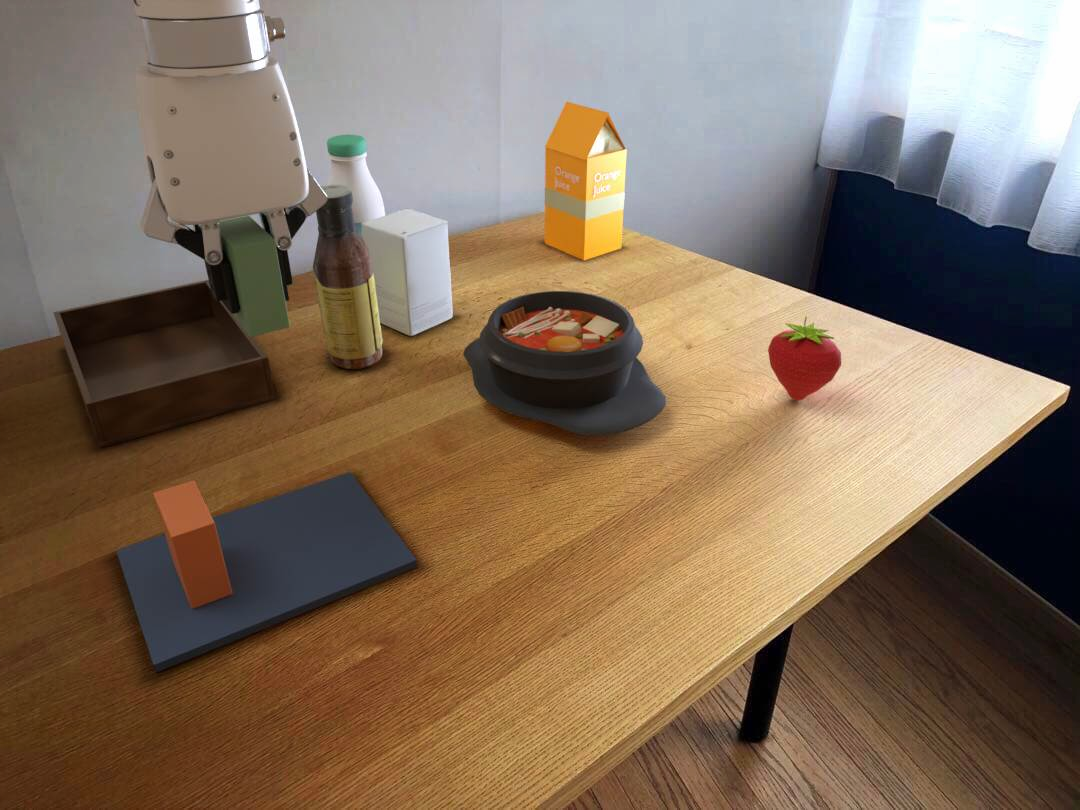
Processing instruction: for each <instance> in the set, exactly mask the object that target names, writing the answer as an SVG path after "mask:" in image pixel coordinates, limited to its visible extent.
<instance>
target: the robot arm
mask: <svg viewBox="0 0 1080 810" xmlns="http://www.w3.org/2000/svg"><path fill="white" fill-rule="evenodd" d="M132 2H133V7H134V12H135V15H136V20H137V24H138V28H139V32H140V37H141V42H142V47H143V50H144V55H145V58H146V64H147V65H143V66H139V67H137V68H136V69H135V71H134V72H135V73H134V74H135V79H134V80H135V96H136V107H137V115H138V123H139V124H138V125H139V130H140V135H141V142H142V148H143V153H144V158H145V159H144V160H145V164H146V168H147V169H146V170H147V173H148V179H149V183H150V190H149V193H148V197H147V201H146V204H145V207H144V210H143V213H142V217H141V219H140V220H141V221H140V225H139V226H140V228H141V231H142V232H143V233H144V234H145V236H146V237H148V238H151V239H155V240H158V241H162V242H166V243H170V244H174V245H175V244H176V245H178V246H180V247H181V248H184V249H185V250H187V251H188V252H190V253H192V254H193V255H195V256H197V257H199V258H200V259H202V260H203V262H204V266H205V271H206V275H207V278H208V279H207V280H209V284H210V288H211V292H212V295H213V298H214V299H215V301H216V302H218V301H222V302H223V304H224V305H225V306H226V307H227V309H228V310H229V311H230V313H231V314H234V313H238V312H239V310H240V305H239V300H238V295H237V290H236V285H235V280H234V275H233V271H232V266H231V264H230V262H229V261H228V260H227V259H226V256H225V252H224V251H223V250H222V244H221V234H220V224H219V221H224V220H229V219H234V218H240V217H245V216H253V215H257V214H258V216H259V219H260V223H261V227H262V228H263V229H264V230H265V231H266V232H267V233H268V234H269V235H270V236H271V237H272V238H273V239H275V244H276V250H277V256H278V261H279V267H280V273H281V279H282V284H283V290H284V296H285V302H288V301H290V296H289V290H288V286H291V285H293V276H292V270H291V264H290V258H289V252H288V251H289V249H290V248H291V247H292V245H293V238H294V237H295V236H296V235H297V233H298V231H299V230H300V229H301V227H302V226H303V224H304V223H305V221H306V220H307V218H309V217H311V216H312V215H313V214H315V213H316V211H317V210H318V209H319V208H321V207H322V206H323V205H324V204H325V203H326V202H327V195H326V194H325V192H324V191H323V190H322V188H321V186H320V184H319V183H318V182H317V180H316V178H315V177H314V176H313V174H312V173H311V172H310V171H309V169H308V168H307V161H306V156H305V152H304V146H303V143H302V139H301V134H300V130H299V129H300V128H299V125H298V122H297V121H298V120H297V117H296V114H295V111H294V106H293V103H292V99H291V96H290V93H289V90H288V87H287V83H286V81H285V78H284V75H283V72H282V69H281V67H280V64H279V61H278V60H277V59H275V58H274V57H273V56H269V55H268V54H270V53H271V49H270V47H271V43H273V42H275V41H276V40H282V39H285V38H286V27H285V24H284V21H283V19H282V17H271V16H269V15H266V14H265V13H264V10H262V9H261V7H260V0H132ZM168 217H169V219H170V220H168ZM189 226H192V228H191V227H189Z"/></svg>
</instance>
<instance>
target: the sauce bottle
mask: <svg viewBox="0 0 1080 810" xmlns="http://www.w3.org/2000/svg"><path fill="white" fill-rule="evenodd" d="M320 187H321V188H322V190H323V191H324V192H325V194H326V195H327V202H326V203H325V204H324V205H323V206H322V207H321V208H319V209H318V210H317V211H316V212H315V213H316V220H317V225H318V226H317V231H318V236H317V241H316V248H315V252H314V257H313V262H312V271H313V278H314V283H315V289H316V295H317V301H318V306H319V311H320V317H321V324H322V328H323V335H324V341H325V345H326V346H325V347H326V350H327V352H328V357H329V358H330V360H331V363H333V364H334V365H335V366H336V367H338V368H341V369H346V370H362V369H364V368H367V367H370V366H372V365H375V364H377V363H378V362H379V361H380V360H381V359H382V357H383V341H384V340H383V333H382V327H381V323H380V318H379V311H378V304H377V296H376V289H375V281H374V274H373V270H372V266H371V258H370V252H369V249H368V247H367V246H366V244H365V242H364V240H363V239H362V238H361V237H360V236H359V235H358V233H357V232H356V230H355V229H356V225H355V222H354V217H353V211H352V203H353V195H352V191H351V189H350V188H349V187H348V186H345V185H322V186H320Z"/></svg>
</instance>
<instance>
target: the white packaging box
mask: <svg viewBox="0 0 1080 810" xmlns="http://www.w3.org/2000/svg"><path fill="white" fill-rule="evenodd" d="M362 229H363V238H364V242H365V244H366V246H367V247H368V249H369V252H370V258H371V266H372V270H373V274H374V281H375V289H376V296H377V304H378V311H379V318H380V324H382V325H384V326H386V327H388V328H390V329H393V330H395V331H397V332H399V333H402V334H404V335H405V336H408V337H413V336H415V335H417V334H420V333H423V332H424V331H428V330H429V329H431V328H433V327H434V328H435V327H436V326H438V325H440V324H442V323H445V322H447V321H449V320H451V319H453V318H454V310H453V295H452V279H451V264H450V263H451V262H450V246H449V230H448V229H449V228H448V221H447V220H445V219H441V218H438V217H435V216H432V215H430V214H429V215H428V214H426V213H423V212H420V211H418V210H417V211H416V210H414V209H410V208H404V209H401V210H398V211H395V212H391V213H389V214H385V216H383V217H380V218H377V219H374V220H371V221H368V222H365V223H362Z"/></svg>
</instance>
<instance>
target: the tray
mask: <svg viewBox="0 0 1080 810" xmlns="http://www.w3.org/2000/svg"><path fill="white" fill-rule="evenodd" d="M52 314H53V316H54V319H55V323H56V326H57V328H58V332H59V334H60V338H61V340H62V344H63V347H64V350H65V353H66V355H67V358H68V361H69V363H70V368H71V370H72V372H73V375H74V378H75V381H76V385H77V386H78V390H79V392H80V395H81V398H82V401H83V404H84V406H85V409H86V412H87V415H88V417H89V421H90V423H91V426H92V429H93V432H94V434H95V437H96V440H97V443H98V445H99V449H102V448H105V447H110V446H112V445H116V444H120V443H124V442H127V441H131V440H134V439H137V438H141V437H144V436H149V435H152V434H156V433H158V432H159V433H160V432H162V431H166V430H169V429H173V428H177V427H181V426H183V425H187V424H190V423H194V422H197V421H201V420H204V419H208V418H211V417H215V416H219V415H222V414H227V413H230V412H233V411H236V410H240V409H244V408H247V407H251V406H255V405H258V404H262V403H265V402H269V401H272V400H276V398H277V397H276V393H275V387H274V381H273V377H272V376H273V375H272V370H271V366H270V360H269V359H270V358H269V356H268V355H267V354H266V352H265V351H264V350H263V349H262V347H261V346H260V344H258V342H257V341H256V340H255V338H254V337H250V336H249V334H248V333H247V332H246V331H245V329H244V328H243V327H242V325H241V324H240V323H239V322H238V320H237V319H236V318H235V317H234V315H233V314H231V313H230V311H229V310H228V309H227V307H226V306H225V305H224V304H223V302H222V301H218V302H216V301H215V299H214V298H213V295H212V292H211V288H210V284H209V279H205V280H201V281H196V282H192V283H187V284H186V283H185V284H182V285H177V286H172V287H167V288H163V289H159V290H153V291H147V292H143V293H138V294H134V295H129V296H125V297H119V298H115V299H110V300H105V301H100V302H96V303H90V304H86V305H82V306H81V305H80V306H77V307H72V308H68V309H63V310H57V311H54V312H53V313H52Z"/></svg>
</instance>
